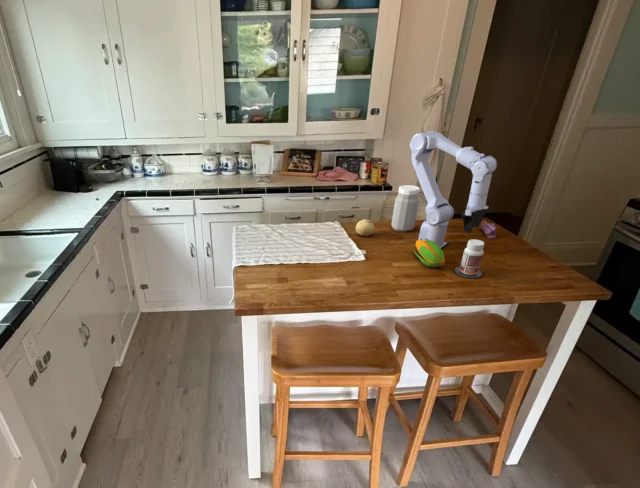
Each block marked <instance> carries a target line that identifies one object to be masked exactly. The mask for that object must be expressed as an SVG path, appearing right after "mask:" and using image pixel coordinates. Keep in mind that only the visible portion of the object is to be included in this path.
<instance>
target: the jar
mask: <svg viewBox="0 0 640 488" xmlns="http://www.w3.org/2000/svg"><path fill="white" fill-rule="evenodd" d="M419 193H420V187H419V186H416V185H412V184H404V185H403V184H402V185H400V186H399V187H398V192H397V196H396V197H395V199H394V204H393V205H394V206H393V212H392V219H391V225H390V226H391V227H392V229H393V230H394V231H397V232H403V233H405V232H406V233H407V232H411V231H412V230H413V229H414V228H415V225H416V220H417V214H418V209H419V204H420V198H419Z"/></svg>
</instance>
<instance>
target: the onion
mask: <svg viewBox="0 0 640 488" xmlns="http://www.w3.org/2000/svg"><path fill="white" fill-rule="evenodd" d="M375 230H376V229H375V224H374V223H373V221H372V218H371V219H370V220H369V219H366V218H364V219H361V220H360V221H358V222H357V224H356V225H355V232H356V234H357V235H360V236H362V237H369V236H371V235H373V234H374V233H375Z"/></svg>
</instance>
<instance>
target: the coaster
mask: <svg viewBox="0 0 640 488" xmlns="http://www.w3.org/2000/svg"><path fill="white" fill-rule="evenodd" d="M453 271H454V273H455V274H456V275H457V276H459V277H462V278H466V279H479V278H481V277H482V275H483V273H482V271H481V270H480V269H479V271H478V273H477V274H475V275H467V274H464V273H462V272H461V271H460V265H458V266H457V267H454V270H453Z"/></svg>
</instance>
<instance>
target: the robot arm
mask: <svg viewBox="0 0 640 488" xmlns="http://www.w3.org/2000/svg"><path fill="white" fill-rule="evenodd" d="M409 148H410V151H411V164H412V167H413V168H414V171H415V174H416V177H417V179H418V183H419V184H420V187H421V189H422V192H423V195H424V198H425V199H426V202H427V204H426V207H425V210H424V211H425V213H426V216H425V217H426V220H424V221H423V222H422V223H421V226H420V229H419V234H418V240H424V241H426V240H425V239H429V240H431V241H433V242H434V243H436V244H437V245H438V246H439V247H440V249H442V248H443V247H444V246H447V244H448V242H446V241H445V239H446V234H447V230H448V226H449V222H450V220H451V219H453V217H454V214H455V210H454V208H453V207H452V205H450V203H449V201H448V200H447V199H446V198H444V197H443V195H442V193H441V190H440V188H439V185H438V183H437V180H436V177H435V175H434V173H433V170H432V166H431V165H430V162H429V157H430V155H431V154H432V152H433V151H434V150H435V149H439V150H441V151H443V152H445V153H447V154H449V155H451V156H453V157H455V160H456V162H457V163H458V164H460V165H462V166H463V167H466V168H467V169H468V170H470V171H471V173H472V181H471V186H470V192H469V196H468V202H467V204H466V209H465V211H463V212H462V213H461V218H462V222H463V232H464V233H466V234H471V233H472V231H473V228H476V229H477V228H479V227H480V225H481V223H482V221H483V219H484V216H485V215H486V213H487V212H488V211H489V205H486V204H487V198H488V193H489V191H490V190H489V189H490V184H491V181H492V175H493V173H494V171H495V170H497V166H498V162H497V159H496V158H495V157H494V156H492V155H487V156H486V154H485V153H480V152H478V151H476V150H474V147H473V146H465V147H461V146H460V145H458V144H457V143H455V142H453V141H452V140H451V139H448V138H447V137H445V136H444V135H443V133H441V132H438V131H436V130H434V129H433V130H429V131H425V132H419V133H415V134H414V135H413V136H412V137H411V141H410V143H409Z"/></svg>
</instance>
